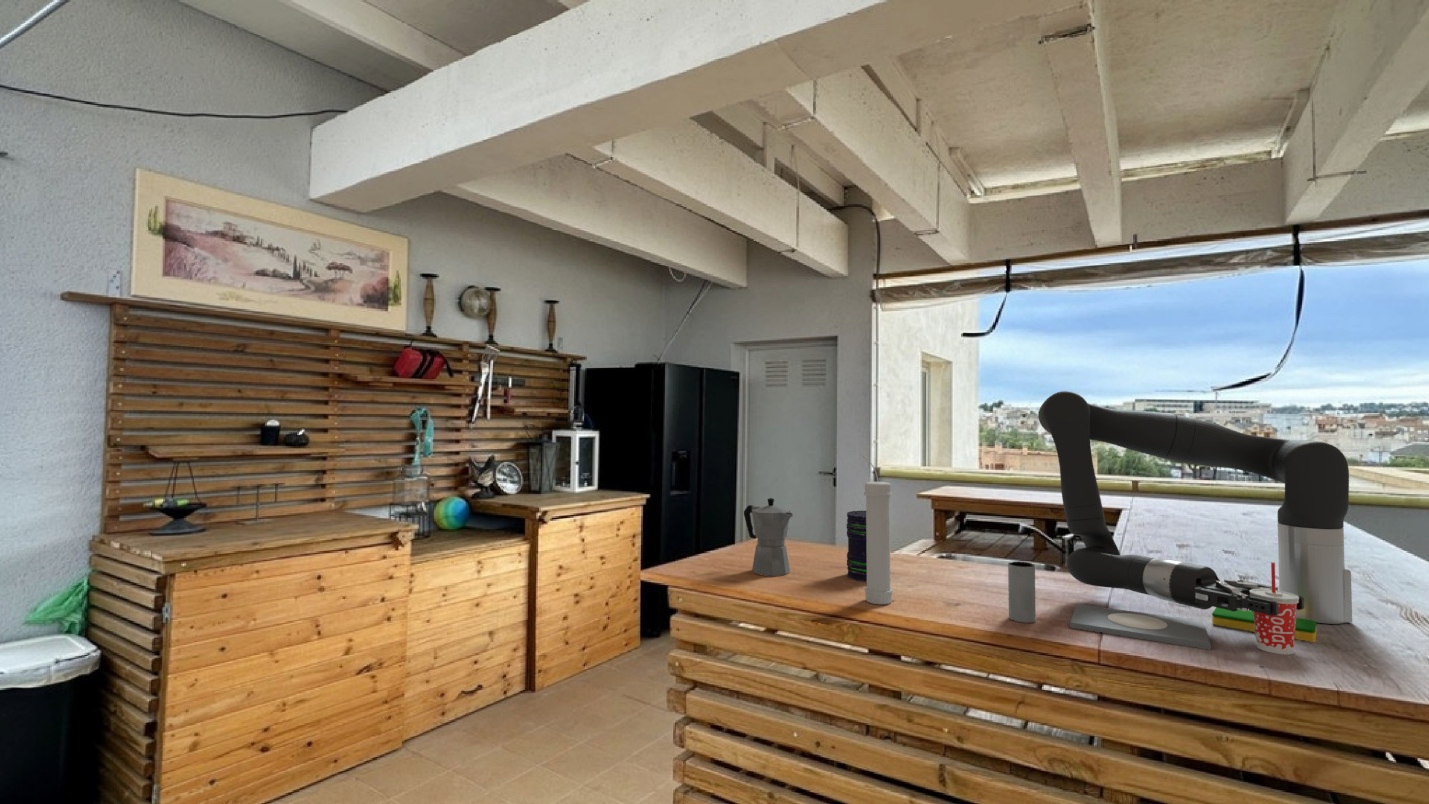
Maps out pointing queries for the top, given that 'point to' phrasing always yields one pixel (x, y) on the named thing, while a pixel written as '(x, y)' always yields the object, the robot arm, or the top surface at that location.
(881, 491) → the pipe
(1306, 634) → the dish sponge
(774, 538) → the coffeepot
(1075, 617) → the slate board
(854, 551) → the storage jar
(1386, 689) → the top surface
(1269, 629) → the beverage cup
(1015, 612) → the gray cylinder
